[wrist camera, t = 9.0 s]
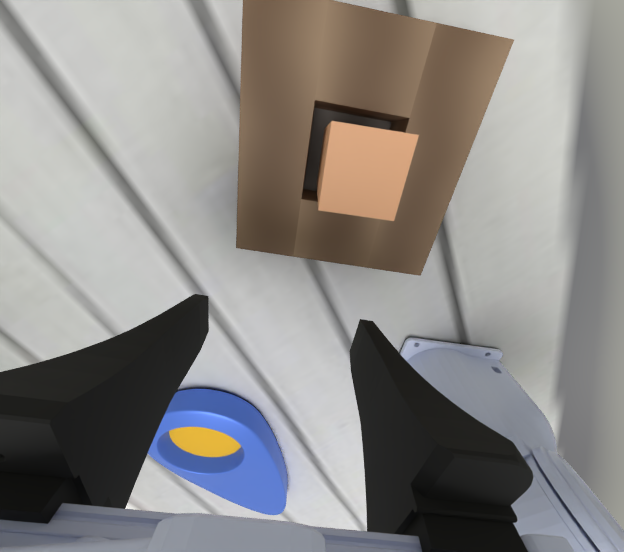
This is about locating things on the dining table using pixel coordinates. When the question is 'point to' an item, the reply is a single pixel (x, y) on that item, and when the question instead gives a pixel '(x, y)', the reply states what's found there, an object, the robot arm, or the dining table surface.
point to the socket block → (354, 110)
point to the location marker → (222, 449)
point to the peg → (363, 170)
